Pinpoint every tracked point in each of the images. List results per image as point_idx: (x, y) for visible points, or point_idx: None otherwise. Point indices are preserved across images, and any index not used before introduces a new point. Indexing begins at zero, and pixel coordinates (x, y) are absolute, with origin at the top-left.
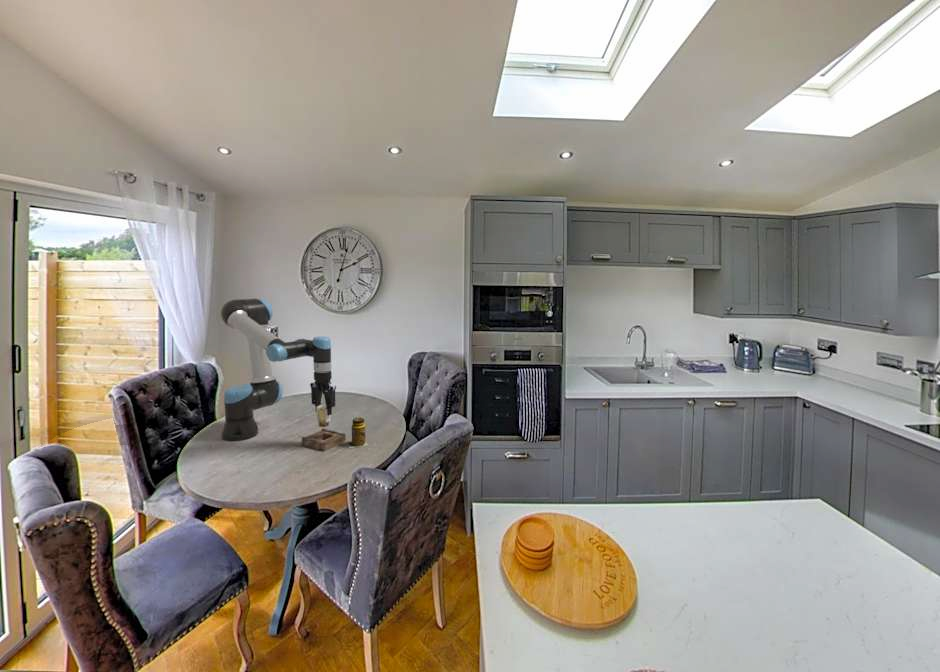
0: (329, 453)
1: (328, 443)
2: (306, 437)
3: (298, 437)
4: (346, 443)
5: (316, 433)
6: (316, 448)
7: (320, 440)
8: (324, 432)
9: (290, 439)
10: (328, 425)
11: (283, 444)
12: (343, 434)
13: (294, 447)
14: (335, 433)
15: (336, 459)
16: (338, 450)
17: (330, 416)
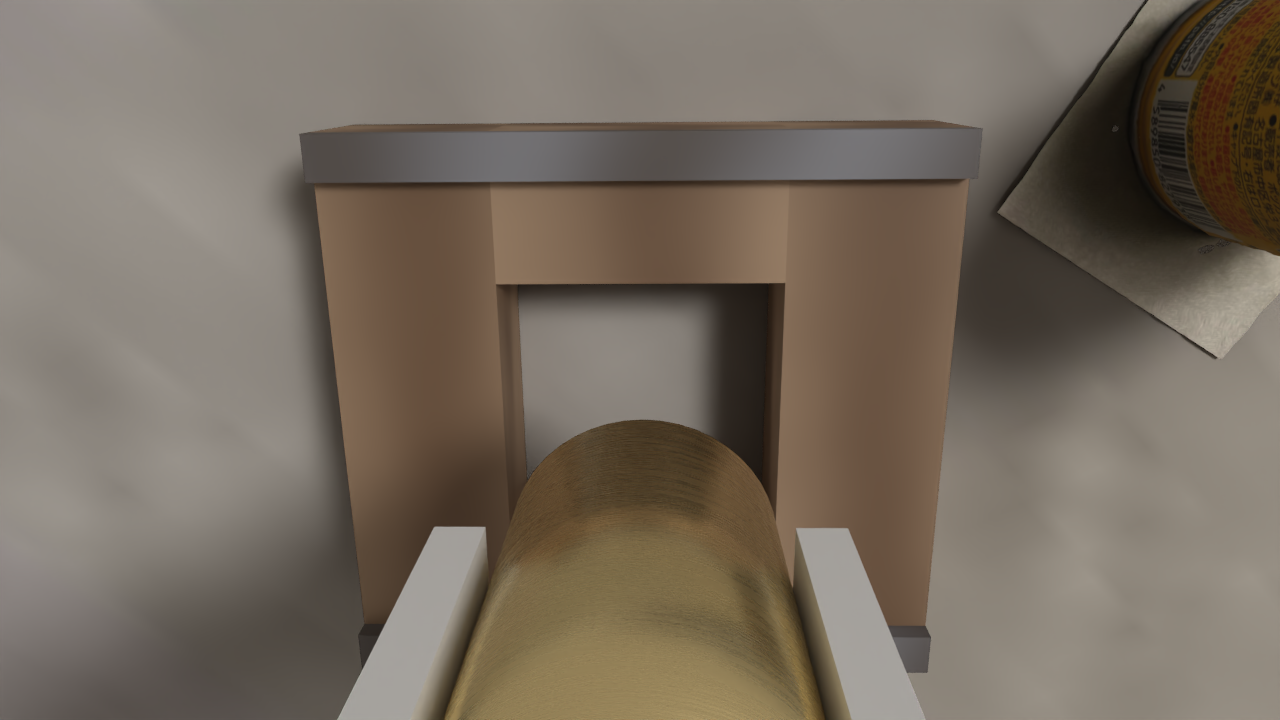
0: (1007, 623)
1: (926, 584)
2: (395, 591)
3: (84, 413)
4: (1038, 224)
5: (388, 372)
6: None
7: None
8: (482, 254)
9: (61, 530)
10: (769, 505)
11: (160, 697)
12: (961, 180)
13: None
14: (727, 181)
15: (1228, 714)
16: (1070, 488)
17: (879, 626)
